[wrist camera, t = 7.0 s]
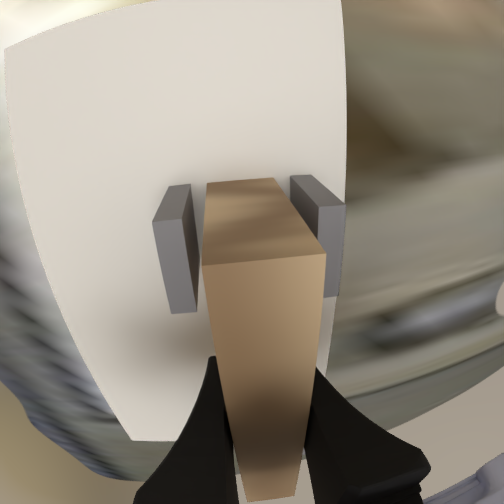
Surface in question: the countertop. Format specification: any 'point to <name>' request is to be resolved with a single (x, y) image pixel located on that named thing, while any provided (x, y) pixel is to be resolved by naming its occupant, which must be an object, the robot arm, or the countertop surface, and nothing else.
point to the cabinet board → (170, 172)
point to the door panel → (263, 325)
